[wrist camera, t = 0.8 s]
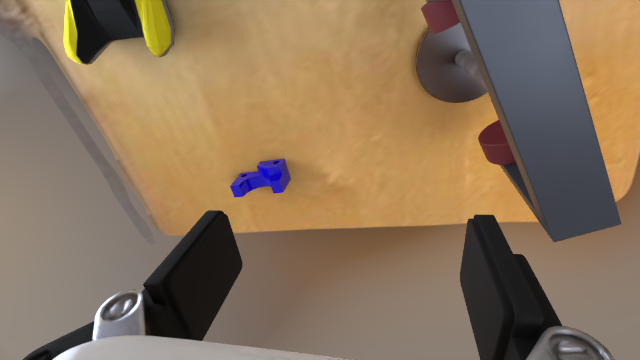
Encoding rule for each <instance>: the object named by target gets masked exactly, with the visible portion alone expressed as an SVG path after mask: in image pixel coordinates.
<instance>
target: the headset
mask: <svg viewBox="0 0 640 360" xmlns="http://www.w3.org/2000/svg"><path fill="white" fill-rule="evenodd" d="M426 2H428V3H426V4H425V5H424V6H423V7H422V8H421V10H422V12H423V15H424V17H425V19H426V21H427V24H428V26H429V28H430V31H431V33H432V34H437V33H440V32H442V31H445V30H447V29H449V28H451V27H453V26H455V25H457V24H459V23H461V25H462V28H463V30H464V33H465V35H466V38H467V40H468V43H469V45H470V48H471V50H472V53H473V55H474V58H475V60H476V63H477V65H478V68H479V70H480V73H481V75H482V78H483V80H484V83H485V85H486V88H487V90H488V93H489V95H490V98H491V100H492V103H493V105H494V108H495V110H496V113H497V115H498V118H499V120H498V121H496V122H494V123H492V124H490V125H489V126H487V127H486V128H485V129H484V130H483V131H482V132H481V133H480V135H479V138H478V139H479V142H480V145H481V147H482V149H483V152H484V154H485V156H486V158H487V160H488V161H489V162H491V163H493V164H498V165H500V166H501V168H502V169H503V171H504V172H505V174H506V175H507V176H508V178H509V179H510V181H511V182H512V183H513V185H514V186H515V188H516V189H517V191H518V192H519V193H520V195H521V196H522V198H523V199H524V201H525V202H526V203H527V205H528V206H529V208H530V209H531V211H532V212H533V213H534V215H535V216H536V218H537V219H538V221H539V222H540V223H541V225H542V226H543V228H544V229H545V231H546V232H547V233H548V235H549V236H550V238H551V239H552V240H553V242H557V241H561V240H565V239H568V238H572V237H576V236H580V235H583V234H587V233H591V232H594V231H598V230H602V229H606V228H609V227H613V226H617V225H620V224H621V221H620V217H619V214H618V210H617V206H616V203H615V199H614V196H613V192H612V189H611V185H610V182H609V178H608V174H607V171H606V167H605V164H604V160H603V157H602V153H601V149H600V146H599V142H598V139H597V135H596V132H595V128H594V124H593V121H592V117H591V114H590V110H589V107H588V103H587V100H586V96H585V92H584V89H583V85H582V82H581V78H580V75H579V71H578V67H577V64H576V60H575V57H574V53H573V50H572V46H571V42H570V39H569V35H568V32H567V28H566V25H565V21H564V18H563V14H562V10H561V7H560V3H559V0H426Z"/></svg>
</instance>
